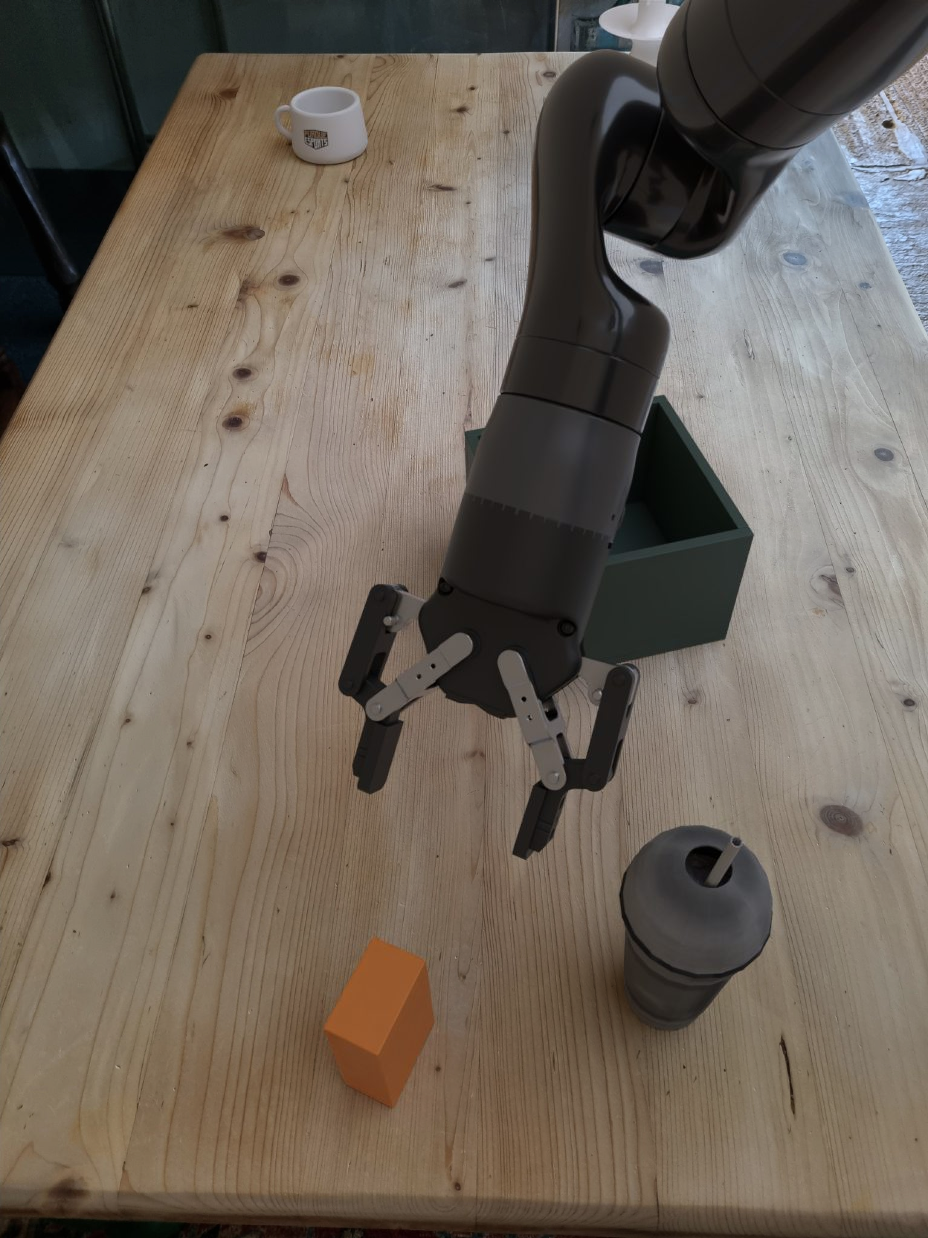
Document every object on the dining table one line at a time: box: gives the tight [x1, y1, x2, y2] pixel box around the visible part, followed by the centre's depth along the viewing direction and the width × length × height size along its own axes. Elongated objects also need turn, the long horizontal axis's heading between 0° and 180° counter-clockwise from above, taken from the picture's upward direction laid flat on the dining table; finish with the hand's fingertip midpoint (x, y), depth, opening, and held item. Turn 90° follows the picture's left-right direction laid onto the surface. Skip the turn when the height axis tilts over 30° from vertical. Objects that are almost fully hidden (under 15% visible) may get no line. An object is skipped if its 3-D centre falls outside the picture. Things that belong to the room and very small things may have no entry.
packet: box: [322, 936, 435, 1109], centre depth 51 cm, size 3×5×9 cm, turn 155°
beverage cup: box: [618, 824, 774, 1032], centre depth 49 cm, size 7×7×20 cm
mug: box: [273, 86, 369, 165], centre depth 124 cm, size 12×10×6 cm
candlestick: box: [598, 0, 681, 67], centre depth 110 cm, size 21×25×28 cm
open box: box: [464, 394, 755, 664], centre depth 73 cm, size 16×16×11 cm
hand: (444, 821), depth 49 cm, fingers open, 8 cm apart
